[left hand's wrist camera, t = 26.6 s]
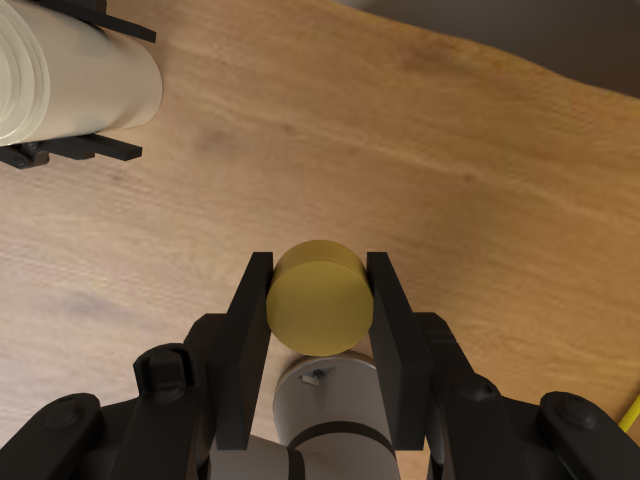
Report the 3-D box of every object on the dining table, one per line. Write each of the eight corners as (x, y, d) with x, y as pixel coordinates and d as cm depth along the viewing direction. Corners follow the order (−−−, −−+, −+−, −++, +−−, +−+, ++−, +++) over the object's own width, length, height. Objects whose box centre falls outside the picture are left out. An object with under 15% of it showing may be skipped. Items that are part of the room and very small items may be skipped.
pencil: (656, 364, 44) (664, 370, 43) (664, 366, 44) (671, 372, 43) (589, 462, 49) (594, 469, 48) (596, 463, 49) (601, 470, 48)
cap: (254, 265, 14) (243, 290, 12) (341, 222, 14) (345, 242, 12) (300, 337, 16) (297, 371, 14) (382, 301, 15) (392, 331, 13)
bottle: (91, 11, 31) (-284, -138, 12) (177, 67, 33) (-29, 16, 13) (59, 96, 33) (-296, 88, 14) (141, 145, 35) (-78, 198, 16)
